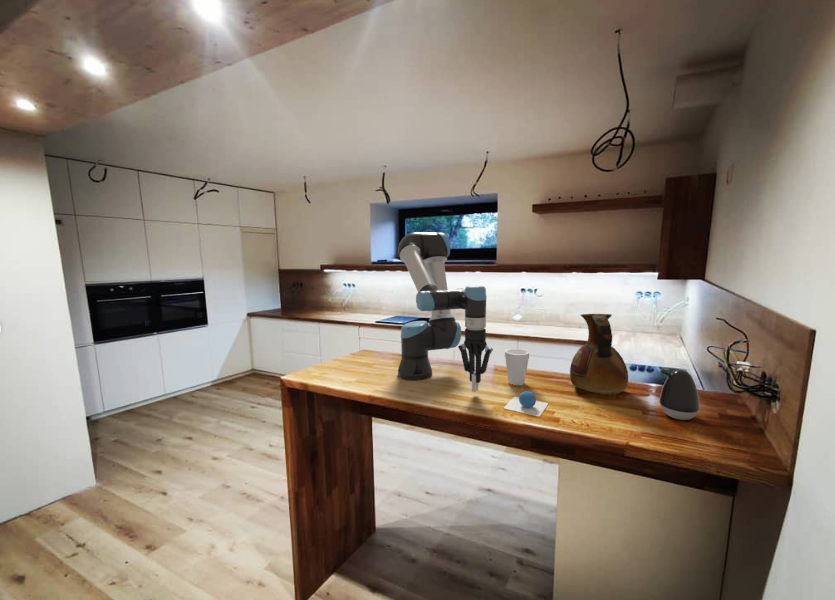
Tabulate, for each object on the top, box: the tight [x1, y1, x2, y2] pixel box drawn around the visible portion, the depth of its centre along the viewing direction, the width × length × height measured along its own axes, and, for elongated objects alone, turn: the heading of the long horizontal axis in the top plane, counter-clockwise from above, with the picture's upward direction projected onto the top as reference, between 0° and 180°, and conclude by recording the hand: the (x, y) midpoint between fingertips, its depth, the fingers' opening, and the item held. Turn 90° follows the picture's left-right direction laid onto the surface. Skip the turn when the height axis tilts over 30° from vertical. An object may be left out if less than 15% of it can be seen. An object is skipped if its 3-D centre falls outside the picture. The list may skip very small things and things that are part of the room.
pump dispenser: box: [658, 369, 701, 421], centre depth 111 cm, size 10×10×15 cm
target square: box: [503, 396, 549, 418], centre depth 121 cm, size 12×12×1 cm
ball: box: [518, 390, 537, 408], centre depth 120 cm, size 6×6×6 cm
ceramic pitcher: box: [569, 313, 629, 396], centre depth 133 cm, size 20×20×30 cm
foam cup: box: [504, 348, 530, 386], centre depth 143 cm, size 10×9×13 cm
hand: (475, 390), depth 131 cm, fingers closed
